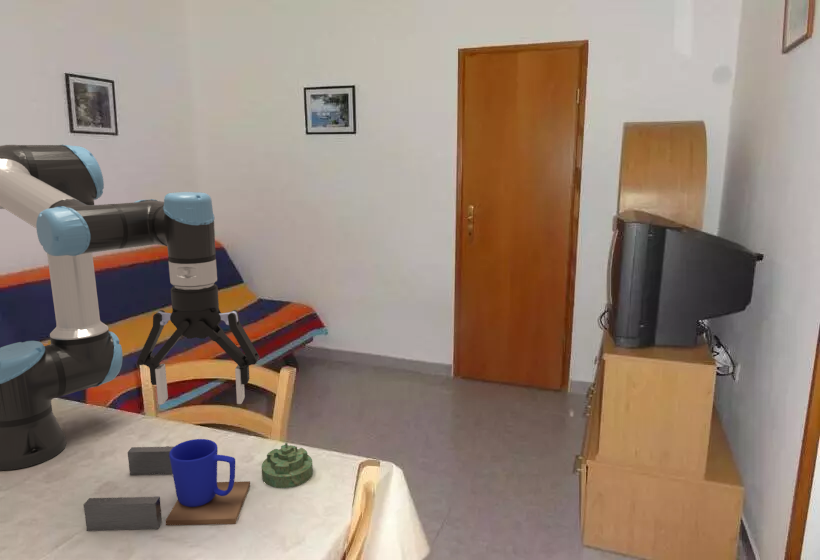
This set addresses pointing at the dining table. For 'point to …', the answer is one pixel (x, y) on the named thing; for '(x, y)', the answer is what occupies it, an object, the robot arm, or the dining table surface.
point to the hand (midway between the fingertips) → (202, 401)
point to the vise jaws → (131, 509)
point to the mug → (198, 471)
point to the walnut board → (212, 508)
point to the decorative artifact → (287, 467)
